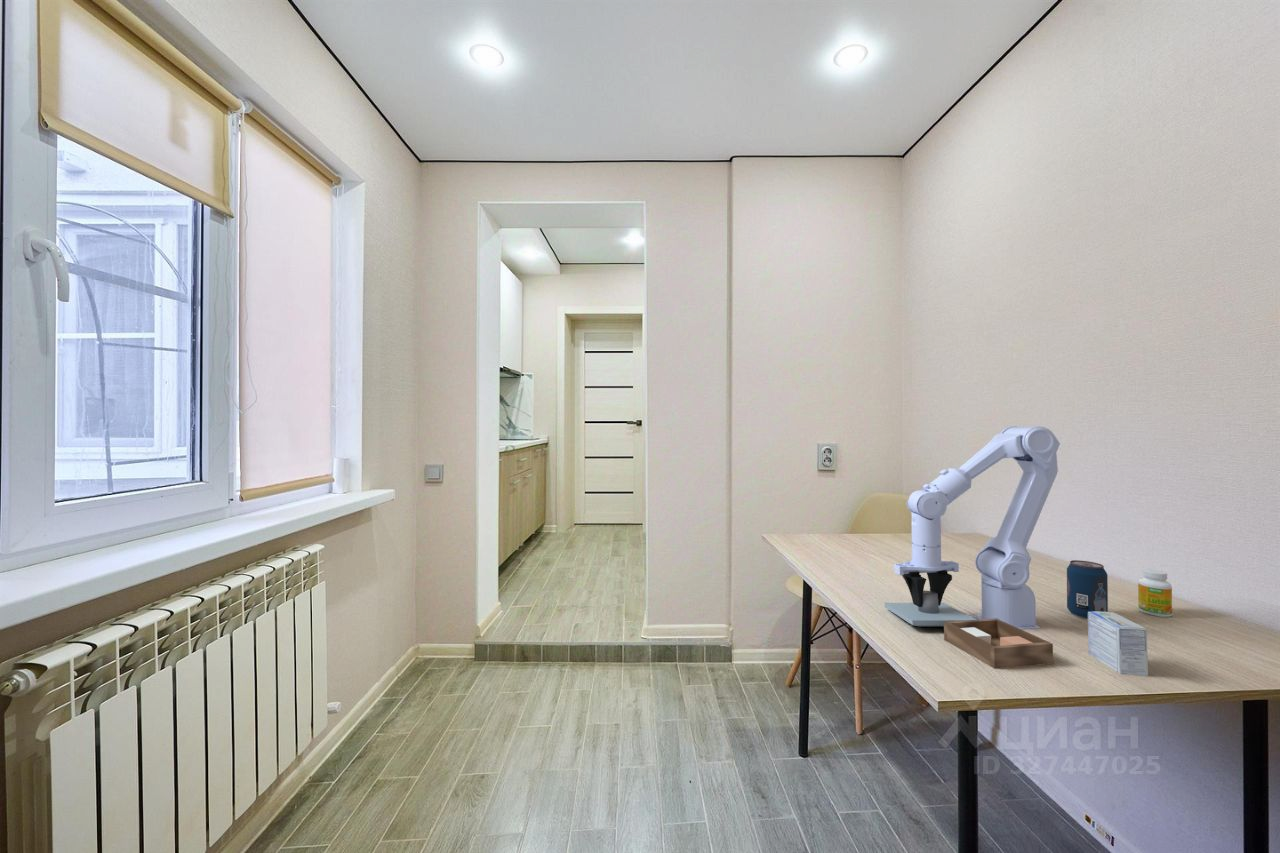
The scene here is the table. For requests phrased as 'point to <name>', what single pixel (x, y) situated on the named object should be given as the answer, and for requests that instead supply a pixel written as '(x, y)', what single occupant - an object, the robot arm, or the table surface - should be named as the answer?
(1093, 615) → the medicine box
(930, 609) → the lid
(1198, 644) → the table surface
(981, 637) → the off-white block
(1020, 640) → the terracotta block
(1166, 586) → the supplement bottle
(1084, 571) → the soda can
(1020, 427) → the robot arm
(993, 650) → the storage box
